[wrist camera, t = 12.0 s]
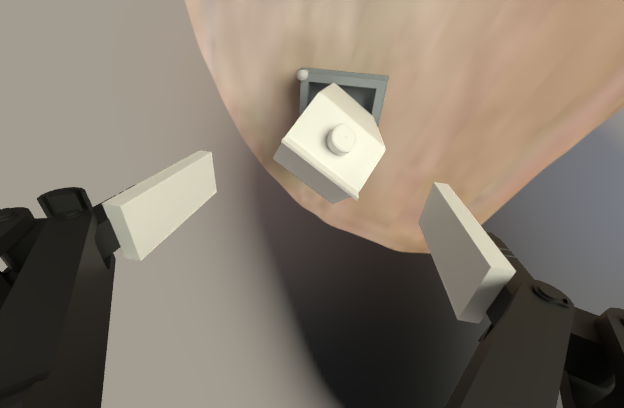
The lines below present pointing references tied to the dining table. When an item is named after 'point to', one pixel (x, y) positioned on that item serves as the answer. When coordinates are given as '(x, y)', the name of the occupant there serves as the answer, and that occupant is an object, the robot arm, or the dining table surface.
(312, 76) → the seat block
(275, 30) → the dining table surface
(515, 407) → the robot arm
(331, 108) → the milk carton
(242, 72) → the dining table surface
